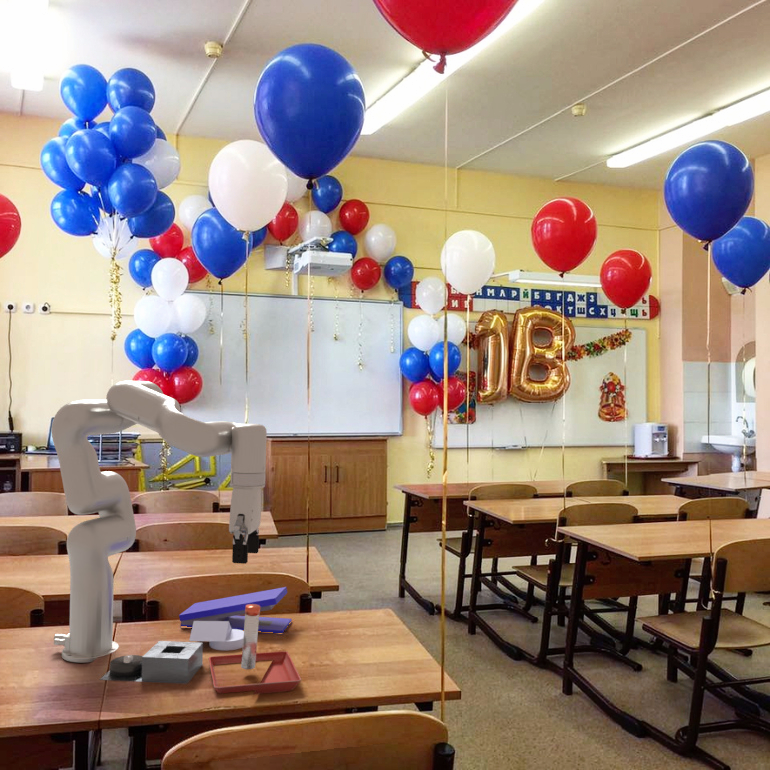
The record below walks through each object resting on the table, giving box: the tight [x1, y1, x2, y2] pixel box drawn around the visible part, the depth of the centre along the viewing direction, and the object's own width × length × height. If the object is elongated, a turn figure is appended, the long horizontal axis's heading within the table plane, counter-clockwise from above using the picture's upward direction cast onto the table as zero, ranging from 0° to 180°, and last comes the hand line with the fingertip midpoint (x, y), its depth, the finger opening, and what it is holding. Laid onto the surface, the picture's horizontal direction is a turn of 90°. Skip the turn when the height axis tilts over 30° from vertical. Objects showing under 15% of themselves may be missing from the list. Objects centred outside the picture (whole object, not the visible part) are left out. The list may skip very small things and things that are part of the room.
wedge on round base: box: [188, 621, 244, 651], centre depth 180 cm, size 9×7×13 cm
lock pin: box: [240, 604, 261, 670], centre depth 161 cm, size 3×3×13 cm
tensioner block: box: [98, 640, 204, 685], centre depth 161 cm, size 19×11×6 cm, turn 87°
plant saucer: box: [208, 650, 302, 695], centre depth 161 cm, size 18×18×3 cm
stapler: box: [178, 586, 293, 634], centre depth 198 cm, size 12×28×10 cm, turn 84°
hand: (245, 557), depth 162 cm, fingers open, 9 cm apart
